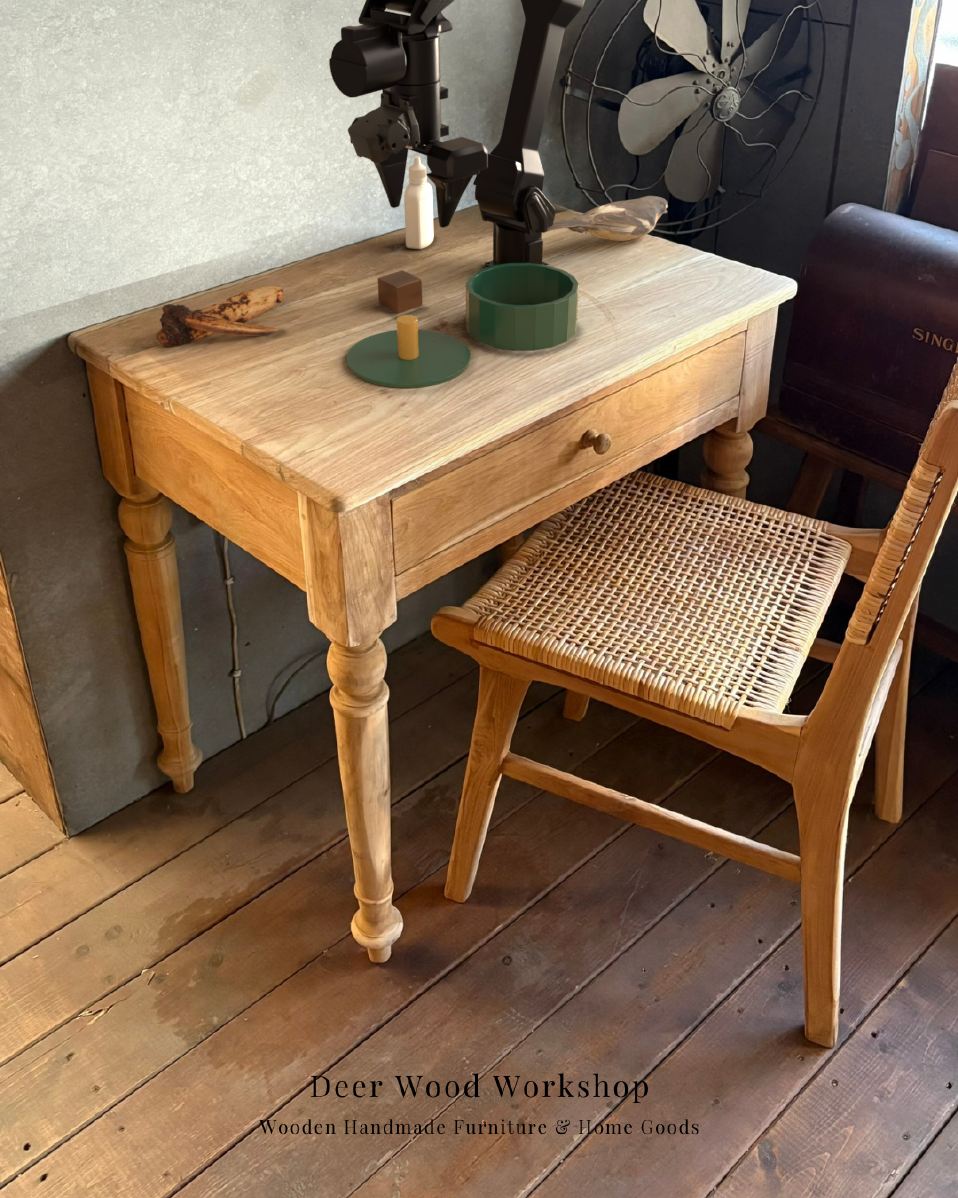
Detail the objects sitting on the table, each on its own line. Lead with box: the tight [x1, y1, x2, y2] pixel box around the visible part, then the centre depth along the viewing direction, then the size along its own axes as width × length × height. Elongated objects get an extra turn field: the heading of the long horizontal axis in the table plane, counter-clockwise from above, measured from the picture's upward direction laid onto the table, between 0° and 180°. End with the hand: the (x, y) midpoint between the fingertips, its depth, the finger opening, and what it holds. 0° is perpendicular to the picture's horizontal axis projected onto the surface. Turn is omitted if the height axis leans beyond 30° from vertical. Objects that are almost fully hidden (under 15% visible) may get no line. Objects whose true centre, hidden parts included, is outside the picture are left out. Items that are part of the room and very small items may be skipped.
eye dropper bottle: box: [403, 155, 435, 250], centre depth 166 cm, size 4×6×12 cm
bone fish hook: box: [155, 285, 285, 347], centre depth 144 cm, size 9×5×18 cm
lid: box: [346, 314, 471, 389], centre depth 137 cm, size 14×14×6 cm
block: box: [377, 269, 424, 314], centre depth 150 cm, size 4×4×4 cm
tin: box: [465, 263, 580, 352], centre depth 144 cm, size 13×14×6 cm
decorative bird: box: [546, 195, 669, 242], centre depth 167 cm, size 6×25×5 cm, turn 127°
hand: (419, 216), depth 144 cm, fingers open, 9 cm apart
